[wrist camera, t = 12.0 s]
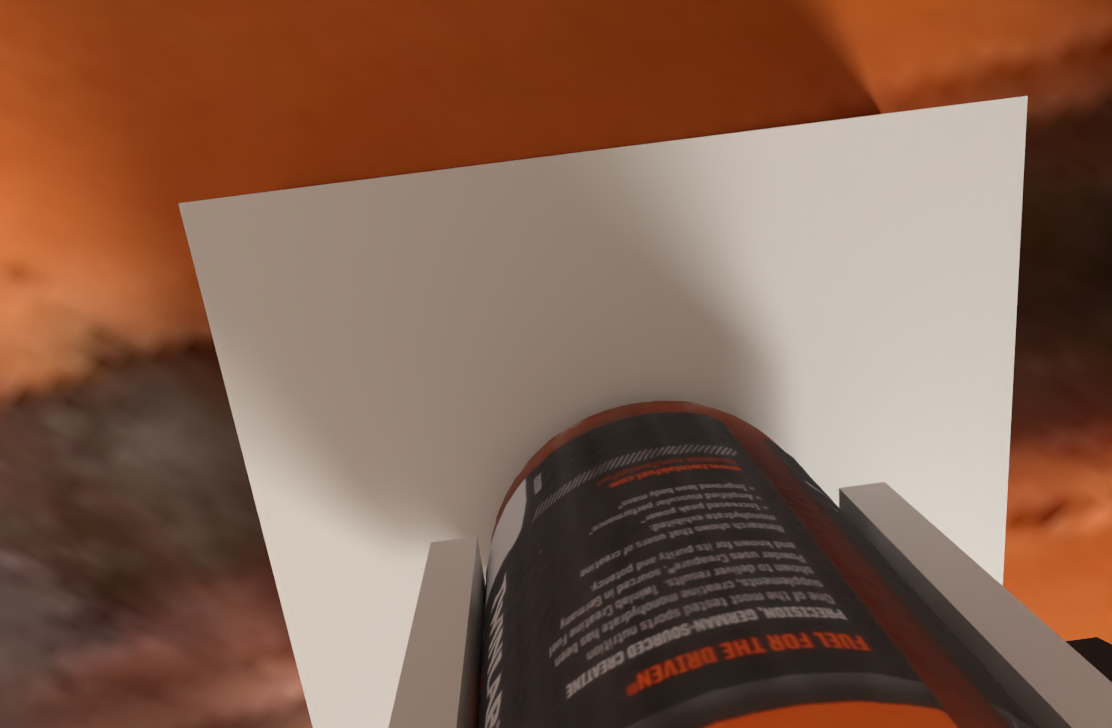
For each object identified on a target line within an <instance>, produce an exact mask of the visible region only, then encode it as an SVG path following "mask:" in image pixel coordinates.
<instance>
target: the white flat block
mask: <svg viewBox="0 0 1112 728" xmlns="http://www.w3.org/2000/svg"><path fill="white" fill-rule="evenodd" d="M1027 99H1028V96H1023V97H1014V98H1006V99H998V100H990V101H982V102H974V103H966V104H958V105H950V106H942V107H933V108H925V109H917V110H909V111H901V112H893V113H885V114H877V115H869V116H861V117H853V118H845V119H837V120H829V121H822V122H814V123H806V124H798V125H790V126H782V127H774V128H766V129H758V130H750V131H742V132H735V133H727V134H719V135H711V136H703V137H695V138H687V139H679V140H671V141H663V142H656V143H648V144H640V145H632V146H624V147H616V148H608V149H600V150H592V151H584V152H576V153H569V154H561V155H553V156H545V157H537V158H529V159H521V160H513V161H505V162H497V163H490V164H482V165H474V166H466V167H458V168H450V169H442V170H434V171H426V172H418V173H410V174H403V175H395V176H387V177H379V178H371V179H363V180H355V181H347V182H339V183H331V184H324V185H316V186H308V187H300V188H292V189H284V190H276V191H268V192H261V193H253V194H246V195H238V196H230V197H223V198H215V199H207V200H200V201H192V202H185V203H178V205H179V209H180V213H181V217H182V220H183V224H184V228H185V232H186V236H187V240H188V244H189V248H190V252H191V255H192V259H193V263H194V267H195V271H196V275H197V279H198V283H199V287H200V290H201V294H202V298H203V302H204V306H205V310H206V314H207V318H208V322H209V325H210V329H211V333H212V337H213V341H214V345H215V349H216V353H217V357H218V361H219V364H220V368H221V372H222V376H223V380H224V384H225V388H226V392H227V396H228V399H229V403H230V407H231V411H232V415H233V419H234V423H235V427H236V431H237V434H238V438H239V442H240V446H241V450H242V454H243V458H244V462H245V466H246V470H247V473H248V477H249V481H250V485H251V489H252V493H253V497H254V501H255V505H256V508H257V512H258V516H259V520H260V524H261V528H262V532H263V536H264V540H265V543H266V547H267V551H268V555H269V559H270V563H271V567H272V571H273V575H274V578H275V582H276V586H277V590H278V594H279V598H280V602H281V606H282V610H283V614H284V617H285V621H286V625H287V629H288V633H289V637H290V641H291V645H292V649H293V652H294V656H295V660H296V664H297V668H298V672H299V676H300V680H301V684H302V687H303V691H304V695H305V699H306V703H307V707H308V711H309V715H310V719H311V723H312V726H313V728H388V727H389V723H390V719H391V714H392V710H393V705H394V701H395V697H396V692H397V688H398V684H399V679H400V675H401V671H402V666H403V662H404V657H405V653H406V649H407V644H408V640H409V636H410V631H411V627H412V623H413V618H414V614H415V609H416V605H417V601H418V596H419V592H420V588H421V583H422V579H423V575H424V570H425V566H426V561H427V557H428V553H429V548H430V544H431V542H438V541H445V540H453V539H460V538H468V537H475V536H477V538H478V544H479V550H480V556H481V562H482V568H483V573H484V579H485V585H486V569H487V564H488V558H489V551H490V547H491V538H492V533H493V530H494V526H495V523H496V517H497V515H498V512H499V509H500V507H501V505H502V503H503V500H504V498H505V496H506V493H507V492H508V490H509V488H510V487H511V485H512V483H513V482H514V480H515V478H516V477H517V476H518V475H519V474H520V472H521V471H522V470H523V468H524V467H525V465H526V464H527V462H528V461H529V460H530V459H531V458H532V457H533V456H534V455H535V454H536V453H537V452H538V451H539V450H540V449H541V448H542V447H543V446H544V445H545V444H546V443H547V442H548V441H549V440H551V439H552V438H553V437H555V436H557V435H558V434H560V433H562V432H563V431H565V430H566V429H568V428H569V427H571V426H572V425H574V424H576V423H578V422H579V421H581V420H583V419H585V418H587V417H589V416H592V415H594V414H597V413H600V412H603V411H605V410H608V409H612V408H616V407H620V406H624V405H629V404H634V403H639V402H652V401H686V402H691V403H696V404H701V405H704V406H708V407H712V408H715V409H717V410H720V411H723V412H725V413H728V414H731V415H734V416H736V417H738V418H740V419H741V420H743V421H745V422H747V423H749V424H751V425H752V426H754V427H756V428H757V429H759V430H760V431H761V432H763V433H764V434H765V435H767V436H768V437H769V438H770V439H771V440H773V441H774V442H775V443H776V444H777V445H779V447H780V448H781V449H783V450H784V451H785V452H786V453H788V454H789V455H791V456H792V457H793V458H794V459H795V460H796V461H797V462H798V463H799V465H800V466H802V468H803V469H804V470H805V471H806V472H807V474H808V475H809V476H810V477H811V478H812V479H813V480H814V481H815V482H816V483H817V484H818V485H819V486H820V487H821V489H822V490H823V491H824V492H825V493H826V494H827V495H828V496H829V497H830V498H831V499H832V500H833V502H834V503H835V504H836V505H837V506H838V507H839V488H843V487H850V486H858V485H865V484H873V483H880V482H885V483H886V484H888V485H889V486H890V487H891V488H892V489H893V490H894V491H896V492H897V493H898V494H899V495H900V496H901V497H902V498H903V499H905V500H906V501H907V502H908V503H909V504H910V505H911V506H913V507H914V508H915V509H916V510H917V511H918V512H919V513H920V514H922V515H923V516H924V517H925V518H926V519H927V520H928V521H929V522H931V523H932V524H933V525H934V526H935V527H936V528H937V529H939V530H940V531H941V532H942V533H943V534H944V535H945V536H946V537H948V538H949V539H950V540H951V541H952V542H953V543H954V544H956V545H957V546H958V547H959V548H960V549H961V550H962V551H963V552H965V553H966V554H967V555H968V556H969V557H970V558H971V559H973V560H974V561H975V562H976V563H977V564H978V565H979V566H980V567H982V568H983V569H984V570H985V571H986V572H987V573H988V574H990V575H991V576H992V577H993V578H994V579H995V580H996V581H997V582H999V583H1000V584H1001V585H1002V586H1003V570H1004V550H1005V530H1006V511H1007V491H1008V471H1009V452H1010V432H1011V413H1012V393H1013V373H1014V354H1015V334H1016V315H1017V295H1018V275H1019V256H1020V236H1021V216H1022V197H1023V177H1024V158H1025V138H1026V118H1027Z"/></svg>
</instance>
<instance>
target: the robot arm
mask: <svg viewBox="0 0 1112 728" xmlns="http://www.w3.org/2000/svg"><path fill="white" fill-rule="evenodd" d="M839 508H840V509H841V510H842V512H843V513H844V514H845V515H846V516H847V517H848V518H849V520H850V521H851V522H852V523H853V524H855V525H856V526H857V527H858V529H859V530H860V531H861V532H862V533H863V535H864V536H865V537H866V538H867V539H868V540H869V541H870V542H871V543H872V544H873V545H874V546H875V547H876V549H877V550H878V551H879V552H880V554H881V555H882V556H883V557H884V558H885V559H886V560H887V561H888V562H889V564H890V565H891V566H892V567H893V568H894V569H895V570H896V572H897V573H898V574H899V575H900V576H901V577H902V579H903V580H904V581H905V582H906V583H907V584H908V585H909V586H910V587H911V588H912V589H913V590H914V591H915V592H916V594H917V595H918V596H919V597H920V598H921V599H922V600H923V601H924V602H925V603H926V604H927V605H928V606H929V608H930V609H931V610H932V611H933V612H934V613H935V615H936V616H937V617H938V618H939V619H940V620H941V621H942V622H943V623H944V624H945V625H946V626H947V628H948V629H949V630H950V631H951V632H952V633H953V634H954V635H955V636H956V637H957V638H958V640H959V641H960V642H961V643H962V644H963V645H964V646H965V647H966V649H967V650H968V651H969V652H970V653H971V654H972V655H973V656H974V657H975V658H976V660H977V661H978V662H979V663H980V664H981V665H982V666H983V668H984V669H985V670H986V671H987V672H988V673H989V674H990V675H991V676H992V677H993V679H994V680H995V681H996V682H998V683H999V684H1000V686H1001V687H1002V688H1003V689H1004V690H1005V692H1006V693H1007V694H1008V695H1009V696H1010V697H1011V699H1012V700H1013V701H1014V702H1015V703H1016V704H1017V705H1018V706H1019V707H1020V708H1021V709H1022V710H1023V711H1024V712H1025V714H1026V715H1027V716H1028V718H1029V719H1030V720H1031V721H1032V722H1033V723H1034V724H1035V725H1036V726H1037V727H1038V728H1112V645H1111V644H1109V643H1107V642H1105V641H1103V640H1101V639H1099V638H1097V637H1095V638H1088V639H1081V640H1073V641H1066V642H1065V641H1064V640H1063V639H1062V638H1061V637H1060V636H1059V635H1058V634H1056V633H1055V632H1054V631H1053V630H1052V629H1051V628H1050V627H1048V626H1047V625H1046V624H1045V623H1044V622H1043V621H1042V620H1041V619H1039V618H1038V617H1037V616H1036V615H1035V614H1034V613H1033V612H1031V611H1030V610H1029V609H1028V608H1027V607H1026V606H1025V605H1024V604H1022V603H1021V602H1020V601H1019V600H1018V599H1017V598H1016V597H1014V596H1013V595H1012V594H1011V593H1010V592H1009V591H1008V590H1007V589H1005V588H1004V587H1003V586H1002V585H1001V584H1000V583H999V582H997V581H996V580H995V579H994V578H993V577H992V576H991V575H990V574H988V573H987V572H986V571H985V570H984V569H983V568H982V567H980V566H979V565H978V564H977V563H976V562H975V561H974V560H973V559H971V558H970V557H969V556H968V555H967V554H966V553H965V552H963V551H962V550H961V549H960V548H959V547H958V546H957V545H956V544H954V543H953V542H952V541H951V540H950V539H949V538H948V537H946V536H945V535H944V534H943V533H942V532H941V531H940V530H939V529H937V528H936V527H935V526H934V525H933V524H932V523H931V522H929V521H928V520H927V519H926V518H925V517H924V516H923V515H922V514H920V513H919V512H918V511H917V510H916V509H915V508H914V507H913V506H911V505H910V504H909V503H908V502H907V501H906V500H905V499H903V498H902V497H901V496H900V495H899V494H898V493H897V492H896V491H894V490H893V489H892V488H891V487H890V486H889V485H888V484H886V483H885V482H880V483H873V484H865V485H858V486H850V487H843V488H839ZM485 586H486V585H485V579H484V573H483V568H482V562H481V556H480V550H479V544H478V538H477V536H475V537H468V538H460V539H453V540H445V541H438V542H431V544H430V548H429V553H428V557H427V561H426V566H425V570H424V575H423V579H422V583H421V588H420V592H419V596H418V601H417V605H416V609H415V614H414V618H413V623H412V627H411V631H410V636H409V640H408V644H407V649H406V653H405V657H404V662H403V666H402V671H401V675H400V679H399V684H398V688H397V692H396V697H395V701H394V705H393V710H392V714H391V719H390V723H389V727H388V728H477V723H478V713H479V695H480V665H481V648H482V642H483V616H484V611H485V605H484V594H485Z"/></svg>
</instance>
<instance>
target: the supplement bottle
mask: <svg viewBox="0 0 1112 728" xmlns="http://www.w3.org/2000/svg"><path fill="white" fill-rule="evenodd" d="M484 605H485V611H484V616H483V642H482V648H481V665H480V695H479V713H478V723H477V728H1038V727H1037V726H1036V725H1035V724H1034V723H1033V722H1032V721H1031V720H1030V719H1029V718H1028V716H1027V715H1026V714H1025V712H1024V711H1023V710H1022V709H1021V708H1020V707H1019V706H1018V705H1017V704H1016V703H1015V702H1014V701H1013V700H1012V699H1011V697H1010V696H1009V695H1008V694H1007V693H1006V692H1005V690H1004V689H1003V688H1002V687H1001V686H1000V684H999V683H998V682H996V681H995V680H994V679H993V677H992V676H991V675H990V674H989V673H988V672H987V671H986V670H985V669H984V668H983V666H982V665H981V664H980V663H979V662H978V661H977V660H976V658H975V657H974V656H973V655H972V654H971V653H970V652H969V651H968V650H967V649H966V647H965V646H964V645H963V644H962V643H961V642H960V641H959V640H958V638H957V637H956V636H955V635H954V634H953V633H952V632H951V631H950V630H949V629H948V628H947V626H946V625H945V624H944V623H943V622H942V621H941V620H940V619H939V618H938V617H937V616H936V615H935V613H934V612H933V611H932V610H931V609H930V608H929V606H928V605H927V604H926V603H925V602H924V601H923V600H922V599H921V598H920V597H919V596H918V595H917V594H916V592H915V591H914V590H913V589H912V588H911V587H910V586H909V585H908V584H907V583H906V582H905V581H904V580H903V579H902V577H901V576H900V575H899V574H898V573H897V572H896V570H895V569H894V568H893V567H892V566H891V565H890V564H889V562H888V561H887V560H886V559H885V558H884V557H883V556H882V555H881V554H880V552H879V551H878V550H877V549H876V547H875V546H874V545H873V544H872V543H871V542H870V541H869V540H868V539H867V538H866V537H865V536H864V535H863V533H862V532H861V531H860V530H859V529H858V527H857V526H856V525H855V524H853V523H852V522H851V521H850V520H849V518H848V517H847V516H846V515H845V514H844V513H843V512H842V510H841V509H840V508H839V507H838V506H837V505H836V504H835V503H834V502H833V500H832V499H831V498H830V497H829V496H828V495H827V494H826V493H825V492H824V491H823V490H822V489H821V487H820V486H819V485H818V484H817V483H816V482H815V481H814V480H813V479H812V478H811V477H810V476H809V475H808V474H807V472H806V471H805V470H804V469H803V468H802V466H800V465H799V463H798V462H797V461H796V460H795V459H794V458H793V457H792V456H791V455H789V454H788V453H786V452H785V451H784V450H783V449H781V448H780V447H779V445H777V444H776V443H775V442H774V441H773V440H771V439H770V438H769V437H768V436H767V435H765V434H764V433H763V432H761V431H760V430H759V429H757V428H756V427H754V426H752V425H751V424H749V423H747V422H745V421H743V420H741V419H740V418H738V417H736V416H734V415H731V414H728V413H725V412H723V411H720V410H717V409H715V408H712V407H708V406H704V405H701V404H696V403H691V402H686V401H652V402H639V403H634V404H629V405H624V406H620V407H616V408H612V409H608V410H605V411H603V412H600V413H597V414H594V415H592V416H589V417H587V418H585V419H583V420H581V421H579V422H578V423H576V424H574V425H572V426H571V427H569V428H568V429H566V430H565V431H563V432H562V433H560V434H558V435H557V436H555V437H553V438H552V439H551V440H549V441H548V442H547V443H546V444H545V445H544V446H543V447H542V448H541V449H540V450H539V451H538V452H537V453H536V454H535V455H534V456H533V457H532V458H531V459H530V460H529V461H528V462H527V464H526V465H525V467H524V468H523V470H522V471H521V472H520V474H519V475H518V476H517V477H516V478H515V480H514V482H513V483H512V485H511V487H510V488H509V490H508V492H507V493H506V496H505V498H504V500H503V503H502V505H501V507H500V509H499V512H498V515H497V517H496V523H495V526H494V530H493V533H492V538H491V547H490V551H489V558H488V564H487V569H486V586H485V594H484Z"/></svg>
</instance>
